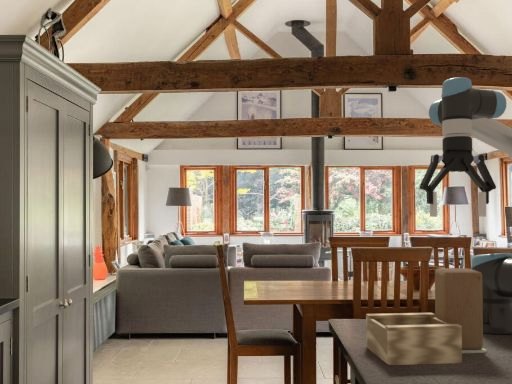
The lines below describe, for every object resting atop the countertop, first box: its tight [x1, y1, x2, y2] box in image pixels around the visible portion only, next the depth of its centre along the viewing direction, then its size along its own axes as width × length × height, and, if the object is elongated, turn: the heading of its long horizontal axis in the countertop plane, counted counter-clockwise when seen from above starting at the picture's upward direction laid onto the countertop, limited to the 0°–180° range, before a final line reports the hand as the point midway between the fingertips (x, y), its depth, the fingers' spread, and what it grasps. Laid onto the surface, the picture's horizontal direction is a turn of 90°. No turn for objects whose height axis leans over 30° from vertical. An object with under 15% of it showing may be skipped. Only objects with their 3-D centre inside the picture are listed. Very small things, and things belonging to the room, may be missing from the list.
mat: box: [462, 348, 488, 354], centre depth 154 cm, size 10×10×1 cm
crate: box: [365, 312, 463, 366], centre depth 148 cm, size 18×18×9 cm
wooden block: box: [434, 267, 484, 349], centre depth 155 cm, size 10×10×20 cm
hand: (458, 216), depth 155 cm, fingers open, 13 cm apart
